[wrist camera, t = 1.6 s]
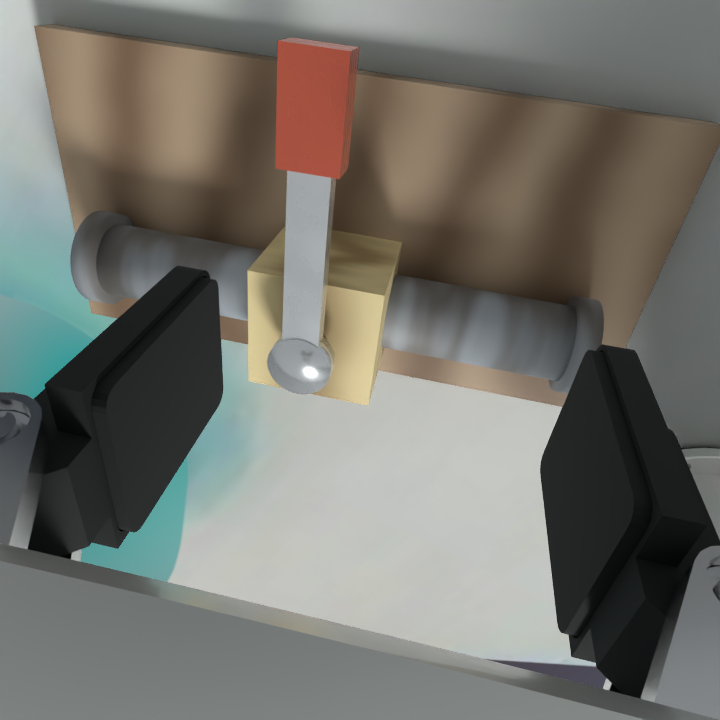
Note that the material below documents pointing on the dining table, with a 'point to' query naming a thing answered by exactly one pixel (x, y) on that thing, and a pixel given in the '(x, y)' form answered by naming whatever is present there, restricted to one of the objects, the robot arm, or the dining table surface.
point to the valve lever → (310, 197)
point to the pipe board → (374, 211)
